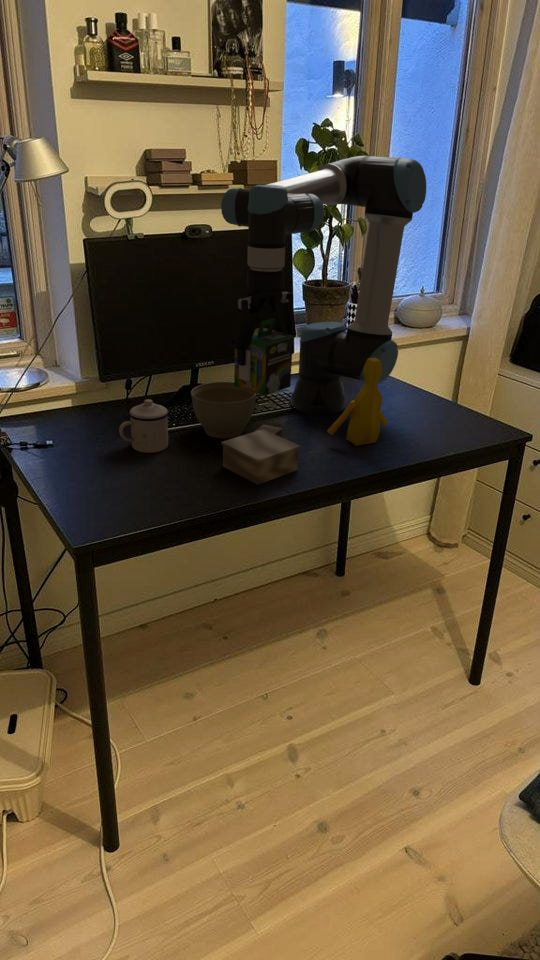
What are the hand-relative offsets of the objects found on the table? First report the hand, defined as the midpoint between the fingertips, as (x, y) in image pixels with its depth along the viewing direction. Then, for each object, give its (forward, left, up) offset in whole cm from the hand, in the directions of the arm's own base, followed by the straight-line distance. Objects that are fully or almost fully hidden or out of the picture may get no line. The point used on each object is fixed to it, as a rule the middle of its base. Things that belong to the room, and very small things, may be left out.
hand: (262, 375), depth 156 cm
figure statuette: (-30, +4, -22) cm, 38 cm away
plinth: (0, 0, -22) cm, 22 cm away
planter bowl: (-7, -22, -22) cm, 32 cm away
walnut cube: (-9, -7, -22) cm, 25 cm away
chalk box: (0, 0, -3) cm, 3 cm away
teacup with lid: (+14, -26, -22) cm, 37 cm away
